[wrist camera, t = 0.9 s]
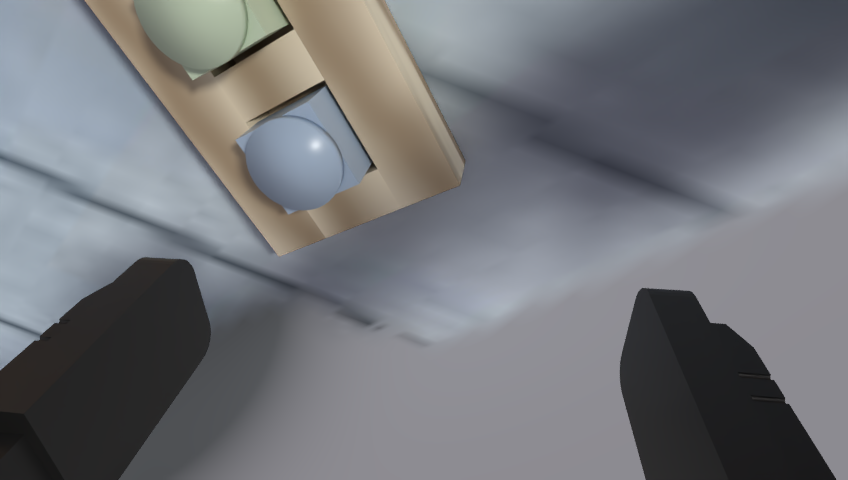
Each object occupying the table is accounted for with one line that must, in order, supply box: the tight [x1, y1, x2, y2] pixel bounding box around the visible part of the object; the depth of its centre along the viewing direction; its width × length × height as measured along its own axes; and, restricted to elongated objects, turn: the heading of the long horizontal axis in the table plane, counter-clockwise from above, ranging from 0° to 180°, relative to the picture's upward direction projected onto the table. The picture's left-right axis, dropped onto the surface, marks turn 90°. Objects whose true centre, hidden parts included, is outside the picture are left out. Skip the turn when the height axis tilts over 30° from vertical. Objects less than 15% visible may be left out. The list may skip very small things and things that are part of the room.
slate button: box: [236, 85, 373, 214], centre depth 25 cm, size 5×5×3 cm
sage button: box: [133, 0, 290, 80], centre depth 22 cm, size 5×5×3 cm
